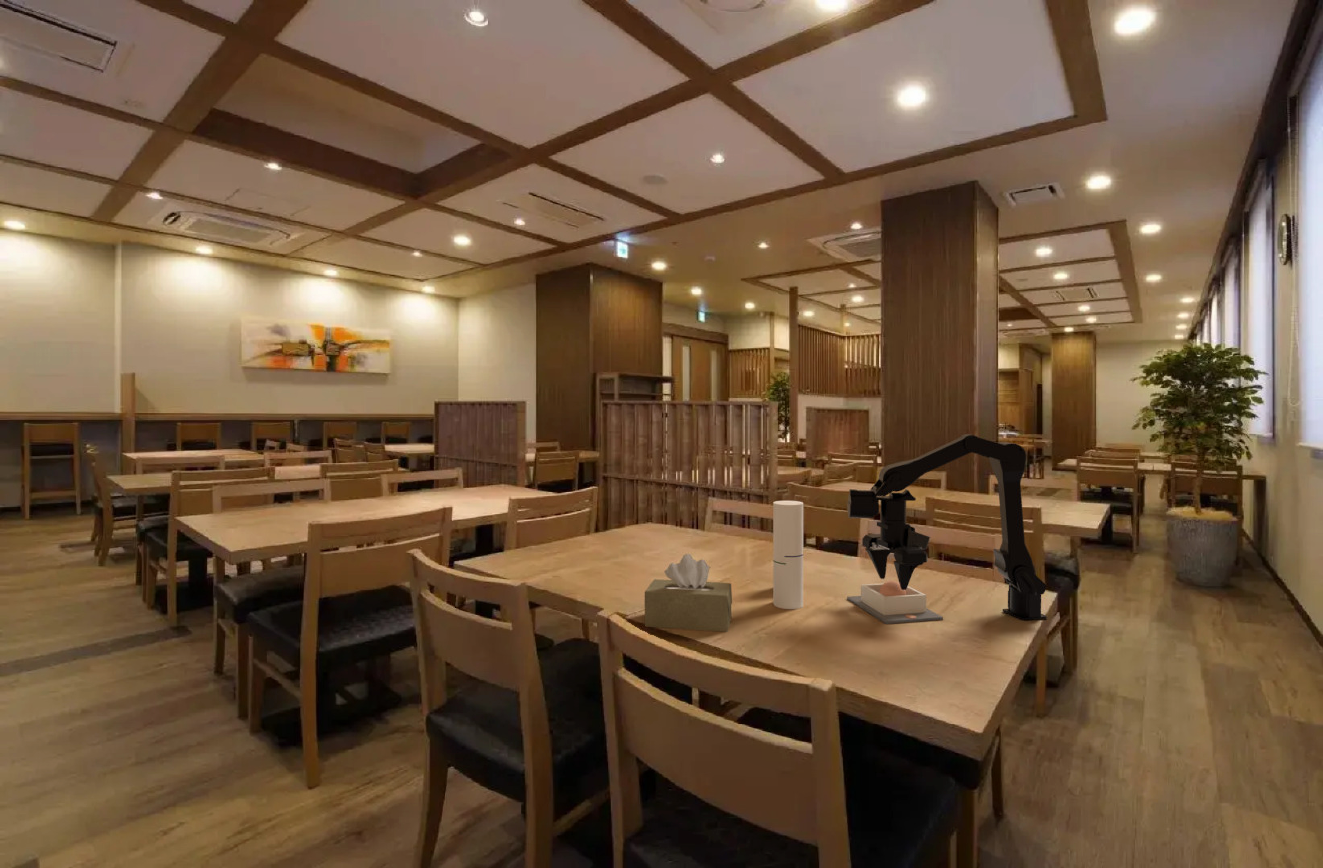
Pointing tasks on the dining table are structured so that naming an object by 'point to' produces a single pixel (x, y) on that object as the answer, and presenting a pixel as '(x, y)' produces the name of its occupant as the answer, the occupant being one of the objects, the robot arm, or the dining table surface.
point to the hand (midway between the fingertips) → (892, 583)
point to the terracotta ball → (891, 589)
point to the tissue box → (688, 599)
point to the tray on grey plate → (894, 605)
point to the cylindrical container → (788, 554)
